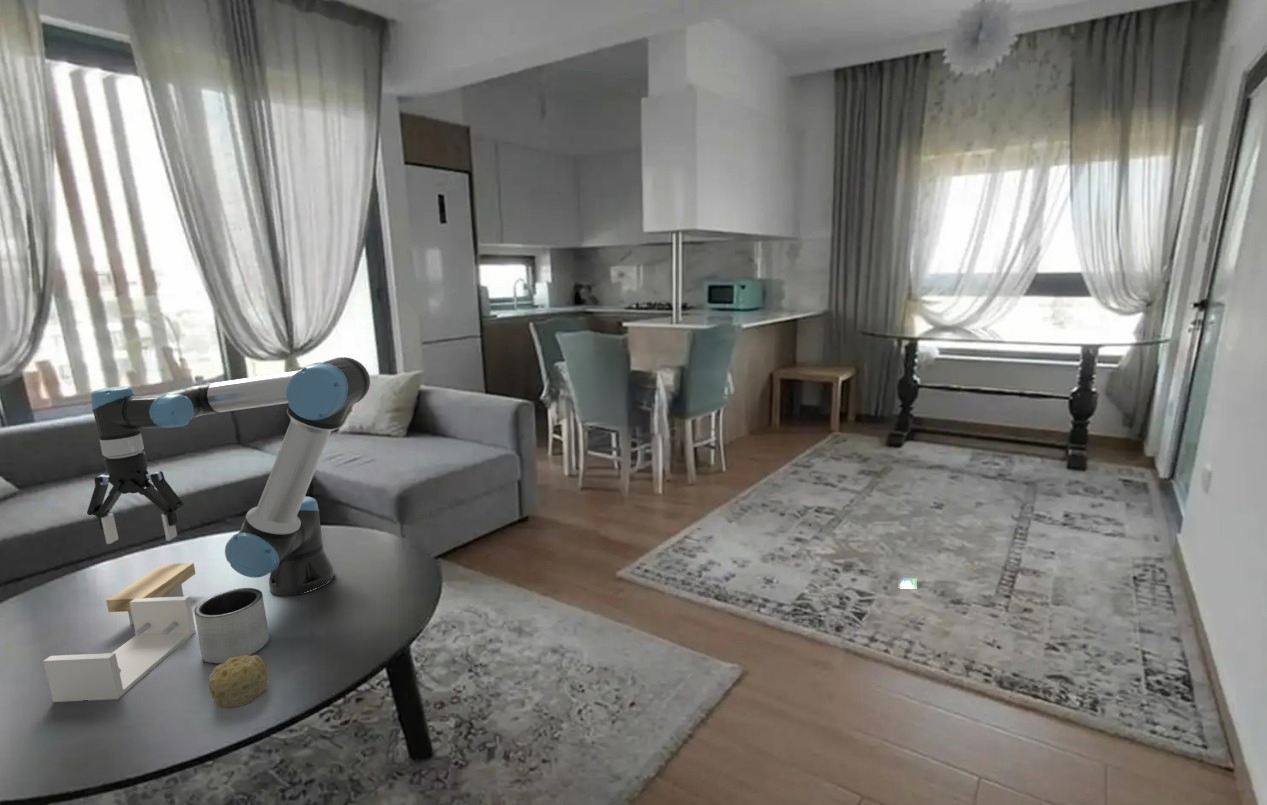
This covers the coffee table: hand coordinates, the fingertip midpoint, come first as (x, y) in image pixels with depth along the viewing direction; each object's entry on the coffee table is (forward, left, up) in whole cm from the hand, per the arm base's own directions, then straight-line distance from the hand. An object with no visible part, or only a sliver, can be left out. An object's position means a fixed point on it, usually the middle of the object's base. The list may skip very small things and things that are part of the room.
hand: (142, 540), depth 148 cm
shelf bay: (-10, +22, -19) cm, 30 cm away
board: (0, 0, -14) cm, 14 cm away
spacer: (0, 0, -19) cm, 19 cm away
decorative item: (-39, +34, -19) cm, 55 cm away
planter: (-29, +18, -19) cm, 39 cm away
